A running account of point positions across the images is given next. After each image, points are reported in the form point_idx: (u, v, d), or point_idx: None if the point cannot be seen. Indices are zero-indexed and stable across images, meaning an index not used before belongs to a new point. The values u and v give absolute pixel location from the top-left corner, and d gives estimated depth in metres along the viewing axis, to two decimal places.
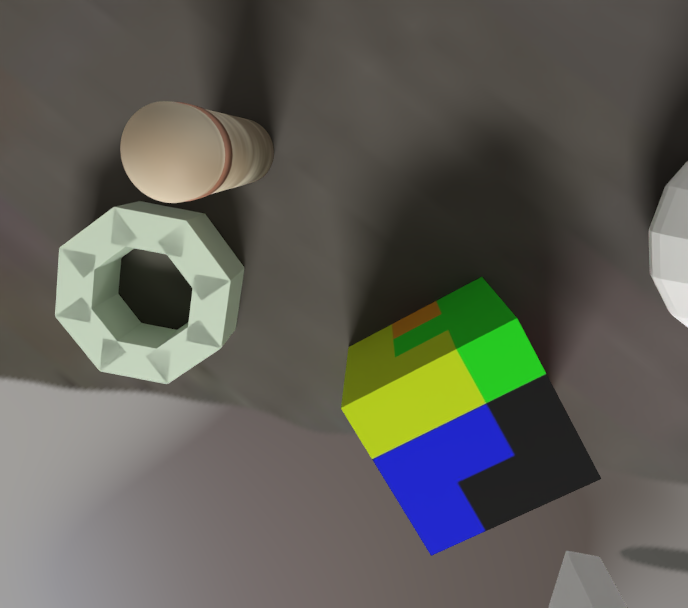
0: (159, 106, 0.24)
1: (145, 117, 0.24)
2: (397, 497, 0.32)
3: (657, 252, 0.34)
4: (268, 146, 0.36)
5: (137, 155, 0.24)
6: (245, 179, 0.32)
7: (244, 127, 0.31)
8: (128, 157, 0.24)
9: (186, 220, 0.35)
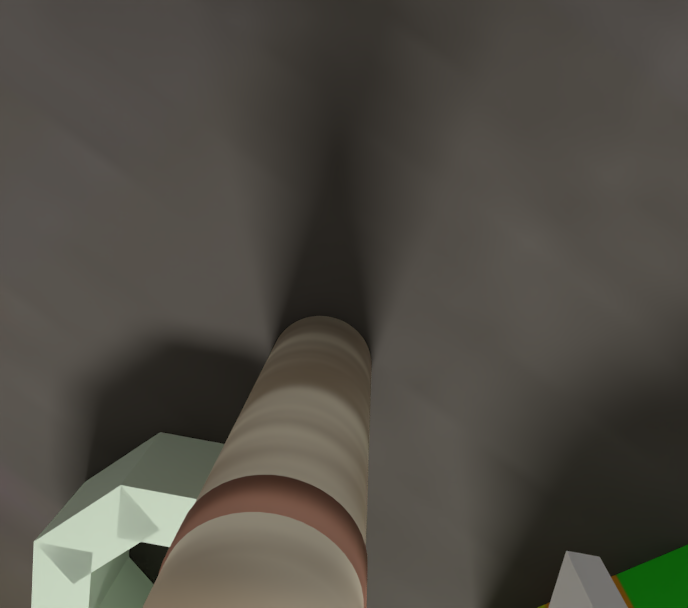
0: (227, 564, 0.10)
1: (193, 585, 0.10)
2: None
3: None
4: (370, 374, 0.22)
5: None
6: None
7: (353, 405, 0.17)
8: None
9: None
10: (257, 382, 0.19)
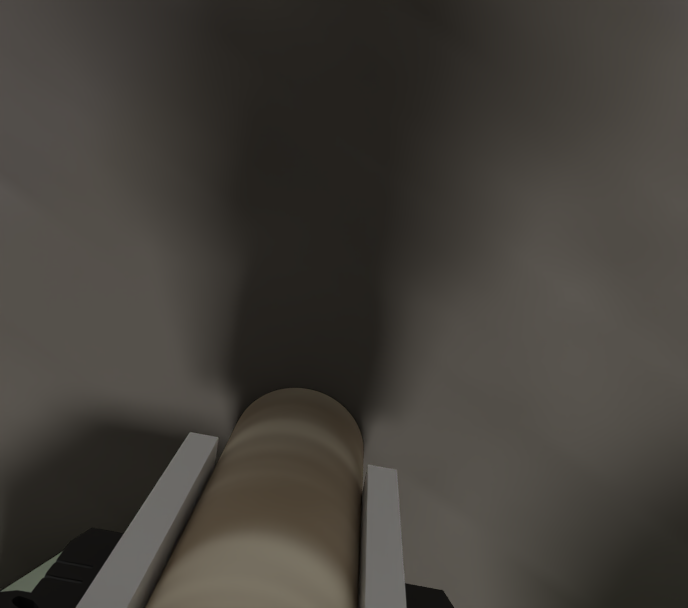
0: None
1: None
2: None
3: None
4: (361, 471, 0.16)
5: None
6: None
7: (334, 555, 0.12)
8: None
9: None
10: (198, 505, 0.13)
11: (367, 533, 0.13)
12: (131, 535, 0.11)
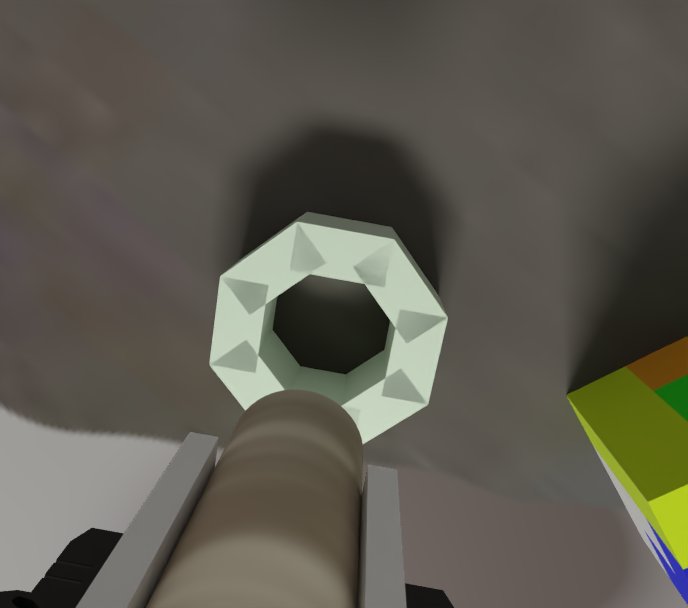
0: None
1: None
2: None
3: None
4: (361, 473, 0.16)
5: None
6: None
7: (334, 558, 0.12)
8: None
9: (392, 238, 0.26)
10: (197, 507, 0.13)
11: (367, 533, 0.13)
12: (131, 535, 0.11)
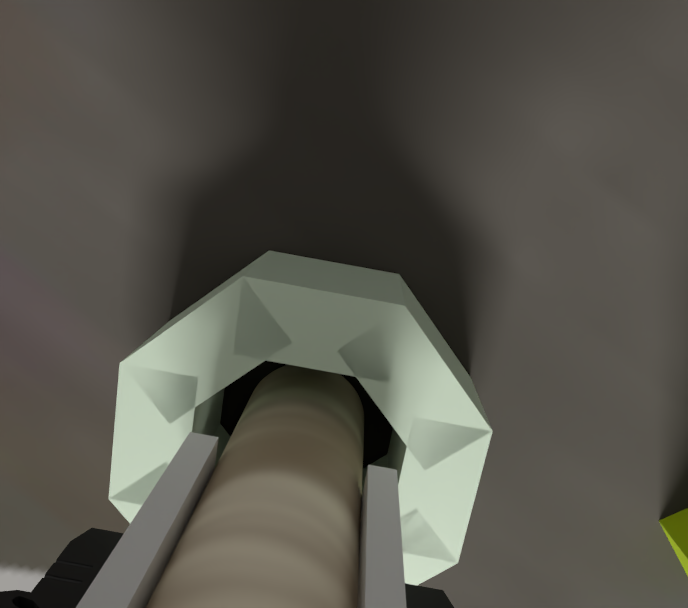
0: None
1: None
2: None
3: None
4: (362, 435, 0.19)
5: None
6: None
7: (340, 492, 0.14)
8: None
9: (402, 304, 0.16)
10: (223, 456, 0.15)
11: (367, 533, 0.13)
12: (131, 535, 0.11)
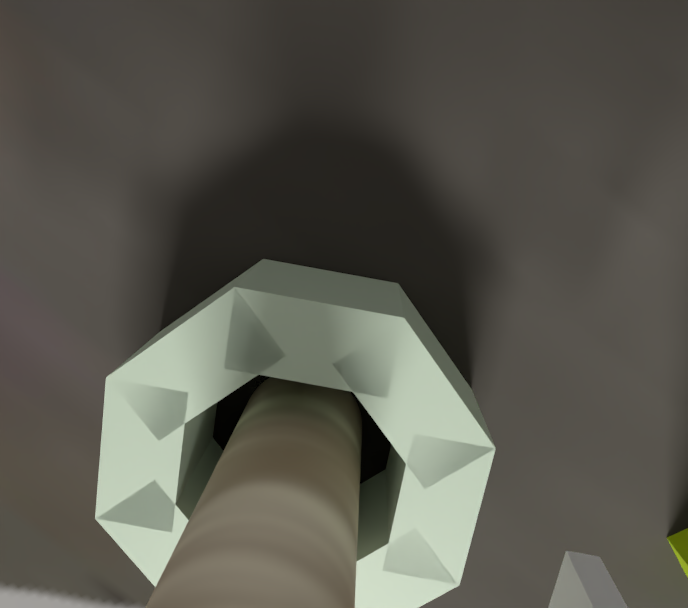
0: None
1: None
2: None
3: None
4: (360, 442, 0.18)
5: None
6: None
7: (337, 503, 0.14)
8: None
9: (401, 316, 0.15)
10: (218, 465, 0.15)
11: None
12: None
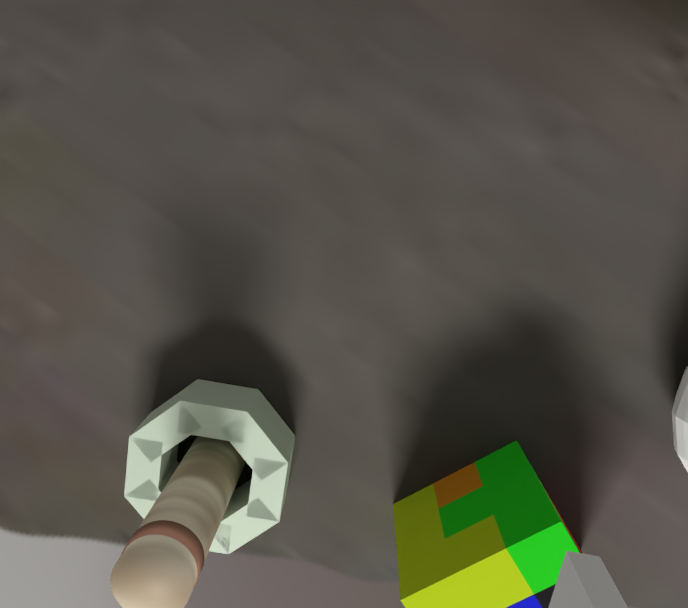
0: (141, 552, 0.29)
1: (130, 560, 0.29)
2: None
3: (681, 435, 0.37)
4: (240, 461, 0.41)
5: (124, 586, 0.30)
6: None
7: (217, 484, 0.37)
8: (117, 588, 0.30)
9: (247, 410, 0.38)
10: None
11: None
12: None
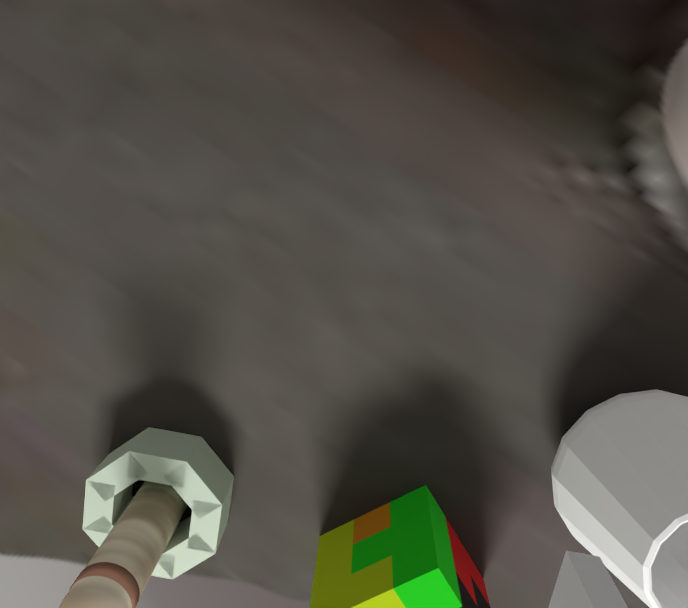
0: (83, 592, 0.36)
1: (74, 598, 0.36)
2: None
3: (555, 491, 0.43)
4: None
5: None
6: None
7: (158, 525, 0.43)
8: None
9: (186, 460, 0.45)
10: (124, 511, 0.45)
11: None
12: None
